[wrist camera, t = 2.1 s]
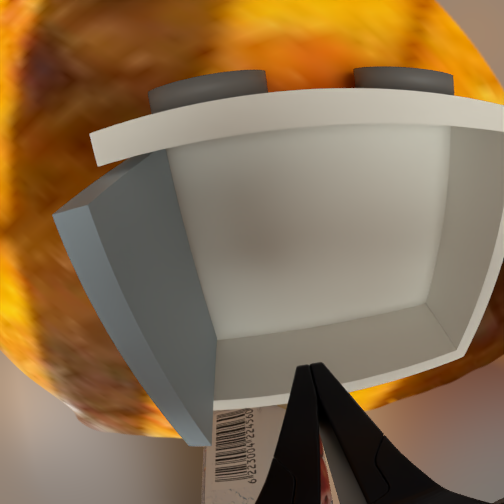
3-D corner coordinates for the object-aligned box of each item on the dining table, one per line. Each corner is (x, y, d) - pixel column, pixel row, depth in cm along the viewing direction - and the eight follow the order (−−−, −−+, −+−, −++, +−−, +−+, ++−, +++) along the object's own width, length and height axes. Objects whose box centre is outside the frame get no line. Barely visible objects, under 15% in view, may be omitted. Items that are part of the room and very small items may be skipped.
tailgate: (164, 144, 13) (87, 205, 6) (217, 338, 19) (211, 446, 12) (123, 154, 13) (27, 222, 6) (186, 341, 19) (171, 445, 13)
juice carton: (246, 407, 33) (257, 611, 9) (196, 362, 28) (183, 628, 4) (315, 385, 31) (353, 604, 7) (277, 333, 26) (315, 642, 3)
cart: (423, 76, 15) (524, 87, 7) (409, 290, 24) (457, 366, 16) (156, 95, 16) (82, 101, 7) (213, 322, 25) (205, 419, 17)
